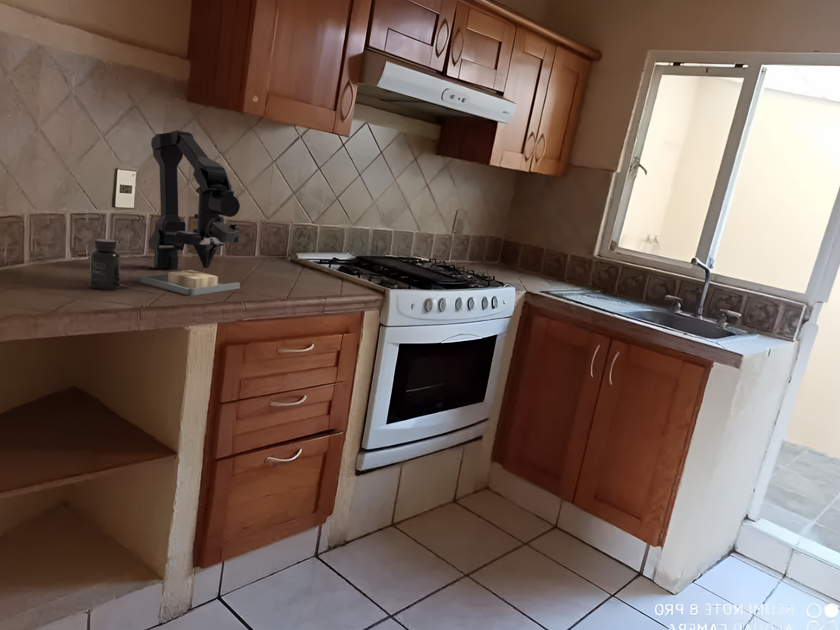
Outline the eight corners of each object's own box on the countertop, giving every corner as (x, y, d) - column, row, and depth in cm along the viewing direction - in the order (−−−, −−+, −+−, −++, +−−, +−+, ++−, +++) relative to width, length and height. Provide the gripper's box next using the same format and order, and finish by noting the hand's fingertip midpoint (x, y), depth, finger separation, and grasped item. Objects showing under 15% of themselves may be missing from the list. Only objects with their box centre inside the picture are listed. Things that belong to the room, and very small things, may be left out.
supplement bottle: (125, 289, 158) (126, 242, 156) (99, 291, 153) (100, 243, 150) (109, 283, 162) (110, 237, 159) (83, 285, 156) (84, 238, 153)
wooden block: (190, 280, 176) (167, 283, 169) (191, 269, 175) (168, 272, 168) (217, 287, 172) (195, 290, 165) (217, 276, 171) (195, 279, 164)
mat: (138, 283, 166) (138, 276, 166) (189, 277, 182) (190, 270, 182) (190, 297, 158) (191, 290, 158) (239, 290, 174) (240, 283, 174)
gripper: (205, 216, 158) (202, 276, 162) (255, 216, 175) (251, 270, 178) (173, 209, 163) (171, 268, 166) (224, 210, 179) (221, 263, 183)
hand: (206, 267), depth 173 cm, fingers closed
